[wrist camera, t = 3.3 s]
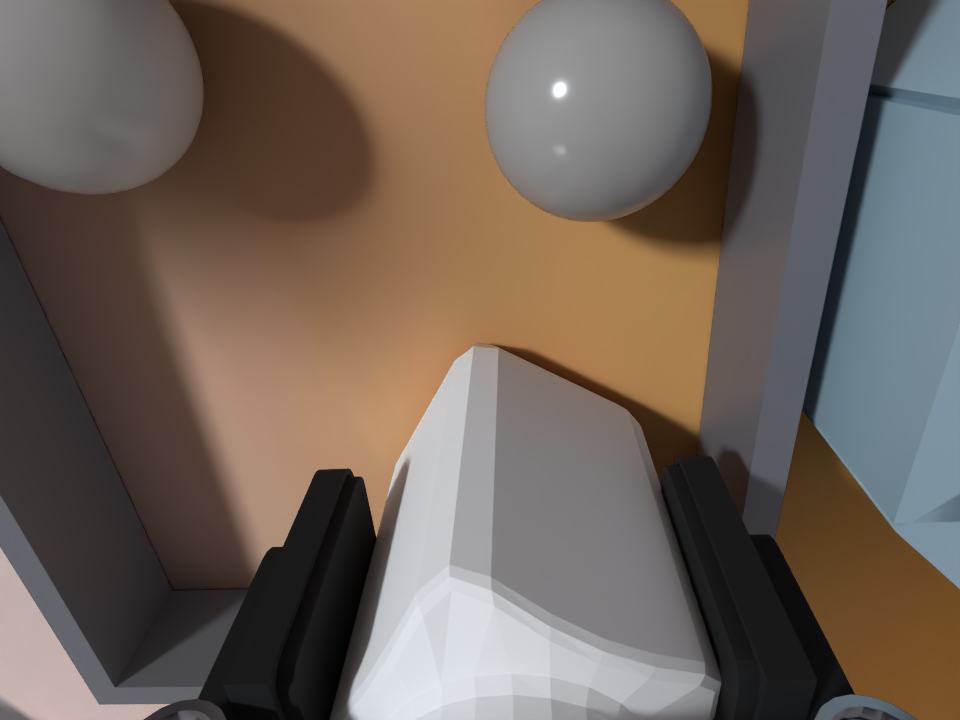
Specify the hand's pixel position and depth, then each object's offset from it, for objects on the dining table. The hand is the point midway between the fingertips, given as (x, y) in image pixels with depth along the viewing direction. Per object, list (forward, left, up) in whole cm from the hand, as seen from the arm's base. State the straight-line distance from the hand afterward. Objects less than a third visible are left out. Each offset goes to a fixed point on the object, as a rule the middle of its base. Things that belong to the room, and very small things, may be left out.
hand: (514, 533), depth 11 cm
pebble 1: (-8, -6, -3) cm, 10 cm away
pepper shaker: (0, 0, -3) cm, 3 cm away
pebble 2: (-7, +1, -3) cm, 7 cm away
